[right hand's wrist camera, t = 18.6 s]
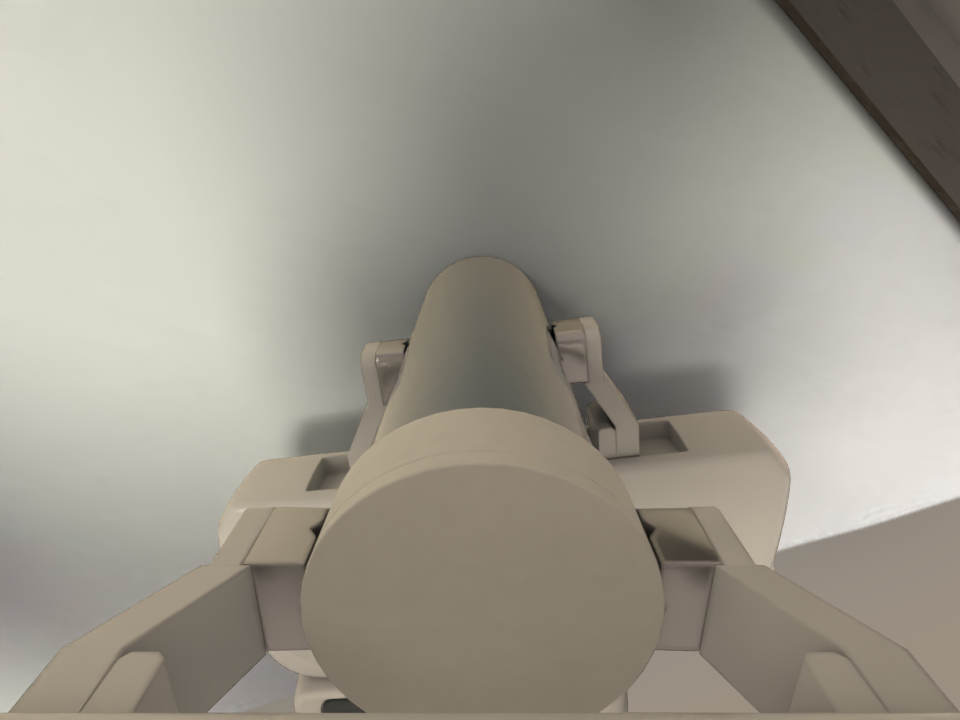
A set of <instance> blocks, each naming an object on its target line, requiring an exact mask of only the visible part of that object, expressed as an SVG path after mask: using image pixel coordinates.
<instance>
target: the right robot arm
mask: <svg viewBox="0 0 960 720" xmlns="http://www.w3.org/2000/svg"><path fill="white" fill-rule="evenodd" d="M329 510H330V508H311V507H250V508H248V509H246V510H245V511H244V512H243V514H242V516H241V517H240V519H239V520H238V522H237V523H236V525H235V527H234V528H233V530H232V531H231V533H230V534H229V536H228V537H227V539H226V541H225V542H224V544H223V545H222V547H221V548H220V550H219V551H218V553H217V555H216V556H215V558H214V559H213V561H212V562H211V564H210V565H201V566H199V567H198V568H196V569H194V570H193V571H191V572H189V573H188V574H186V575H184V576H182V577H181V578H179V579H177V580H176V581H174V582H172V583H171V584H169V585H167V586H166V587H164V588H162V589H161V590H159V591H157V592H156V593H154V594H152V595H151V596H149V597H147V598H146V599H144V600H142V601H141V602H139V603H137V604H135V605H134V606H132V607H130V608H129V609H127V610H125V611H124V612H122V613H120V614H119V615H117V616H115V617H114V618H112V619H110V620H109V621H107V622H105V623H104V624H102V625H100V626H99V627H97V628H95V629H94V630H92V631H90V632H88V633H87V634H85V635H83V636H82V637H80V638H78V639H77V640H75V641H73V642H72V643H70V644H68V645H67V646H65V647H63V648H62V649H60V651H59V652H58V653H57V654H56V655H55V657H54V658H53V659H52V660H51V661H50V663H49V664H48V665H47V666H46V667H45V669H44V670H43V671H42V672H41V674H40V675H39V676H38V677H37V678H36V680H35V681H34V682H33V683H32V684H31V686H30V687H29V688H28V689H27V690H26V692H25V693H24V694H23V695H22V696H21V698H20V699H19V700H18V701H17V703H16V704H15V705H14V706H13V707H12V709H11V710H10V711H9V712H8V713H0V720H960V712H959V710H958V709H957V708H956V707H955V706H954V704H953V703H952V702H951V701H950V700H949V698H948V697H947V696H946V695H945V694H944V693H943V691H942V690H941V689H940V688H939V687H938V685H937V684H936V683H935V682H934V681H933V679H932V678H931V677H930V676H929V675H928V673H927V672H926V671H925V670H924V669H923V667H922V666H921V665H920V664H919V663H918V661H917V660H916V659H915V658H914V657H913V655H912V654H911V653H910V652H909V651H908V650H907V649H905V648H904V647H902V646H900V645H899V644H897V643H895V642H894V641H892V640H890V639H889V638H887V637H885V636H883V635H882V634H880V633H878V632H877V631H875V630H873V629H872V628H870V627H868V626H867V625H865V624H863V623H862V622H860V621H858V620H856V619H855V618H853V617H851V616H850V615H848V614H846V613H845V612H843V611H841V610H840V609H838V608H836V607H834V606H833V605H831V604H829V603H828V602H826V601H824V600H823V599H821V598H819V597H818V596H816V595H814V594H812V593H811V592H809V591H807V590H806V589H804V588H802V587H801V586H799V585H797V584H796V583H794V582H792V581H791V580H789V579H787V578H786V577H784V576H782V575H780V574H779V573H777V572H775V571H774V570H772V569H770V568H769V567H767V566H765V565H756V564H755V562H754V561H753V559H752V558H751V556H750V555H749V553H748V552H747V550H746V549H745V547H744V546H743V544H742V543H741V541H740V540H739V538H738V537H737V535H736V534H735V532H734V531H733V529H732V528H731V526H730V525H729V523H728V522H727V520H726V519H725V517H724V516H723V514H722V513H721V511H720V510H719V509H718V508H716V507H715V506H710V507H688V508H635V510H636V512H637V514H638V517H639V519H640V522H641V524H642V526H643V529H644V531H645V534H646V536H647V538H648V541H649V543H650V546H651V548H652V550H653V553H654V555H655V558H656V560H657V563H658V566H659V569H660V573H661V576H662V579H663V587H664V595H665V608H664V620H663V625H662V629H661V634H660V638H659V640H658V643H657V645H656V648H655V650H673V651H700V655H701V656H702V657H703V658H704V659H705V660H707V661H708V662H709V663H710V664H711V665H712V666H713V667H714V668H715V669H716V670H717V671H718V672H719V673H720V674H721V675H722V676H723V677H724V678H725V679H726V680H727V681H728V682H729V683H730V684H731V685H732V686H733V687H734V688H735V689H736V690H737V691H738V692H739V693H740V694H741V695H742V696H743V697H744V698H745V699H747V700H748V701H749V702H750V703H751V704H752V705H753V706H754V707H755V708H756V709H757V710H758V711H759V712H760V713H207V712H208V711H209V710H210V709H211V708H212V707H213V706H214V705H215V704H216V703H217V702H218V701H219V700H220V699H221V698H222V697H223V696H224V695H225V694H226V693H227V692H228V691H229V690H230V689H231V688H232V687H233V686H234V685H235V684H236V683H237V682H238V681H239V680H240V679H241V678H242V677H243V676H244V675H245V674H246V673H247V672H248V671H249V670H250V669H251V668H252V667H254V666H255V665H256V664H257V663H258V662H259V661H260V660H261V659H262V658H263V657H264V656H265V655H266V651H292V650H311V649H310V647H309V644H308V642H307V639H306V635H305V632H304V628H303V624H302V616H301V604H300V601H301V589H302V582H303V578H304V574H305V570H306V566H307V563H308V561H309V558H310V556H311V554H312V551H313V549H314V546H315V544H316V542H317V539H318V537H319V534H320V532H321V529H322V527H323V525H324V522H325V520H326V517H327V515H328V512H329Z"/></svg>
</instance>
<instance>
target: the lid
mask: <svg viewBox="0 0 960 720" xmlns="http://www.w3.org/2000/svg"><path fill="white" fill-rule="evenodd" d="M300 604H301V616H302V624H303V628H304V632H305V635H306V639H307V642H308V644H309V647H310V649H311V651H312V654H313V656H314V658H315V659H316V661H317V663H318V664H319V666H320V668H321V669H322V671H323V672H324V674H325V675H326V676H327V677H328V679H329V680H330V681H331V682H332V683H333V685H334V686H335V687H336V688H337V689H338V690H339V691H340V692H341V693H342V694H343V695H344V696H346V697H347V698H348V699H349V700H350V701H351V702H352V703H354V704H355V705H357V706H358V707H359V708H361V709H362V710H363V711H365V712H366V713H599V712H601V711H603V710H604V709H605V708H606V707H608V706H609V705H610V704H612V703H613V702H614V701H616V700H617V699H618V698H619V697H620V696H621V695H622V694H623V693H624V692H625V691H626V690H627V689H628V688H629V687H630V686H631V685H632V684H633V683H634V682H635V681H636V679H637V678H638V677H639V675H640V674H641V673H642V672H643V670H644V669H645V667H646V665H647V664H648V662H649V660H650V658H651V657H652V655H653V653H654V651H655V648H656V645H657V643H658V640H659V638H660V634H661V629H662V625H663V620H664V608H665V595H664V587H663V579H662V576H661V573H660V569H659V566H658V563H657V560H656V558H655V555H654V553H653V550H652V548H651V546H650V543H649V541H648V538H647V536H646V534H645V531H644V529H643V526H642V524H641V522H640V519H639V517H638V514H637V512H636V510H635V507H634V505H633V502H632V500H631V498H630V495H629V493H628V491H627V489H626V487H625V485H624V483H623V481H622V479H621V478H620V476H619V475H618V473H617V472H616V470H615V469H614V468H613V466H612V465H611V463H610V462H609V461H608V460H607V459H606V458H605V457H604V456H603V455H602V454H601V453H600V452H599V451H598V450H597V449H596V448H595V447H593V446H592V445H591V444H590V443H588V442H587V441H586V440H585V439H583V438H582V437H580V436H579V435H577V434H575V433H574V432H572V431H570V430H569V429H567V428H565V427H563V426H561V425H559V424H556V423H554V422H552V421H550V420H547V419H545V418H542V417H538V416H535V415H532V414H528V413H525V412H520V411H514V410H508V409H501V408H467V409H456V410H451V411H446V412H441V413H436V414H433V415H430V416H427V417H424V418H420V419H417V420H415V421H413V422H410V423H408V424H406V425H404V426H402V427H400V428H398V429H396V430H394V431H393V432H391V433H390V434H388V435H386V436H385V437H383V438H382V439H380V440H379V441H378V442H376V443H375V444H374V445H373V446H372V447H370V448H369V449H368V450H367V451H366V452H365V453H364V454H363V455H362V456H361V457H360V458H359V459H358V460H357V461H356V463H355V464H354V465H353V466H352V467H351V469H350V470H349V472H348V473H347V475H346V476H345V478H344V479H343V481H342V482H341V485H340V487H339V489H338V491H337V494H336V496H335V498H334V500H333V503H332V505H331V508H330V510H329V512H328V515H327V517H326V520H325V522H324V525H323V527H322V529H321V532H320V534H319V537H318V539H317V542H316V544H315V546H314V549H313V551H312V554H311V556H310V558H309V561H308V563H307V566H306V570H305V574H304V578H303V582H302V589H301V601H300Z"/></svg>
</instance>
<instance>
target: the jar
mask: <svg viewBox="0 0 960 720" xmlns="http://www.w3.org/2000/svg"><path fill="white" fill-rule="evenodd" d="M467 408H501V409H508V410H514V411H520V412H525V413H528V414H532V415H535V416H538V417H542V418H545V419H547V420H550V421H552V422H554V423H556V424H559V425H561V426H563V427H565V428H567V429H569V430H570V431H572V432H574V433H575V434H577V435H579V436H580V437H582V438H583V439H585V440H586V441H587V442H588V443H590V444H591V445H592V443H591V440H590V437H589V434H588V432H587V429H586V426H585V423H584V421H583V418H582V415H581V412H580V410H579V407H578V404H577V401H576V399H575V396H574V393H573V390H572V388H571V385H570V382H569V379H568V377H567V374H566V371H565V369H564V366H563V363H562V360H561V358H560V355H559V352H558V349H557V347H556V344H555V341H554V338H553V336H552V333H551V330H550V327H549V325H548V322H547V319H546V316H545V314H544V311H543V308H542V305H541V303H540V300H539V297H538V295H537V292H536V290H535V288H534V286H533V284H532V283H531V281H530V280H529V279H528V277H527V276H526V275H525V274H524V273H523V272H522V271H521V270H520V269H518V268H517V267H515V266H514V265H512V264H510V263H508V262H506V261H504V260H501V259H498V258H493V257H486V256H479V257H470V258H466V259H463V260H460V261H458V262H455V263H453V264H452V265H450V266H448V267H447V268H446V269H444V270H443V271H442V272H441V273H440V274H439V275H438V276H437V277H436V278H435V279H434V281H433V282H432V284H431V285H430V287H429V289H428V291H427V294H426V297H425V300H424V302H423V305H422V308H421V311H420V314H419V316H418V319H417V322H416V325H415V328H414V330H413V333H412V336H411V339H410V341H409V344H408V347H407V350H406V353H405V355H404V358H403V361H402V364H401V367H400V369H399V372H398V375H397V378H396V381H395V383H394V386H393V389H392V392H391V394H390V397H389V400H388V403H387V406H386V408H385V411H384V414H383V417H382V420H381V422H380V425H379V428H378V431H377V434H376V436H375V439H374V442H373V445H374V444H375V443H376V442H378V441H379V440H380V439H382V438H383V437H385V436H386V435H388V434H390V433H391V432H393V431H394V430H396V429H398V428H400V427H402V426H404V425H406V424H408V423H410V422H413V421H415V420H417V419H420V418H424V417H427V416H430V415H433V414H436V413H441V412H446V411H451V410H456V409H467ZM373 445H372V446H373ZM592 446H593V445H592Z"/></svg>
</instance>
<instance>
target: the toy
mask: <svg viewBox="0 0 960 720" xmlns="http://www.w3.org/2000/svg"><path fill="white" fill-rule="evenodd" d="M776 1H777V2H778V4H779V5H780V6H781V7H782V8H783V10H784V11H785V12H786V13H787V14H788V16H789V17H790V18H791V19H792V20H793V22H794V23H795V24H796V25H797V26H798V28H799V29H800V30H801V31H802V32H803V34H804V35H805V36H806V37H807V38H808V40H809V41H810V42H811V43H812V44H813V46H814V47H815V48H816V49H817V50H818V52H819V53H820V54H821V55H822V56H823V57H824V59H825V60H826V61H827V62H828V63H829V65H830V66H831V67H832V68H833V69H834V71H835V72H836V73H837V74H838V75H839V77H840V78H841V79H842V80H843V81H844V83H845V84H846V85H847V86H848V87H849V89H850V90H851V91H852V92H853V93H854V95H855V96H856V97H857V98H858V99H859V101H860V102H861V103H862V104H863V105H864V107H865V108H866V109H867V110H868V111H869V113H870V114H871V115H872V116H873V117H874V119H875V120H876V121H877V122H878V123H879V125H880V126H881V127H882V128H883V129H884V131H885V132H886V133H887V134H888V135H889V137H890V138H891V139H892V140H893V141H894V143H895V144H896V145H897V146H898V147H899V149H900V150H901V151H902V152H903V153H904V155H905V156H906V157H907V158H908V159H909V161H910V162H911V163H912V164H913V165H914V167H915V168H916V169H917V170H918V171H919V173H920V174H921V175H922V176H923V177H924V179H925V180H926V181H927V182H928V183H929V185H930V186H931V187H932V188H933V189H934V191H935V192H936V193H937V194H938V195H939V197H940V198H941V199H942V200H943V201H944V203H945V204H946V205H947V206H948V207H949V209H950V210H951V211H952V212H953V213H954V215H955V216H956V217H957V218H958V219H959V221H960V0H776Z"/></svg>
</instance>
